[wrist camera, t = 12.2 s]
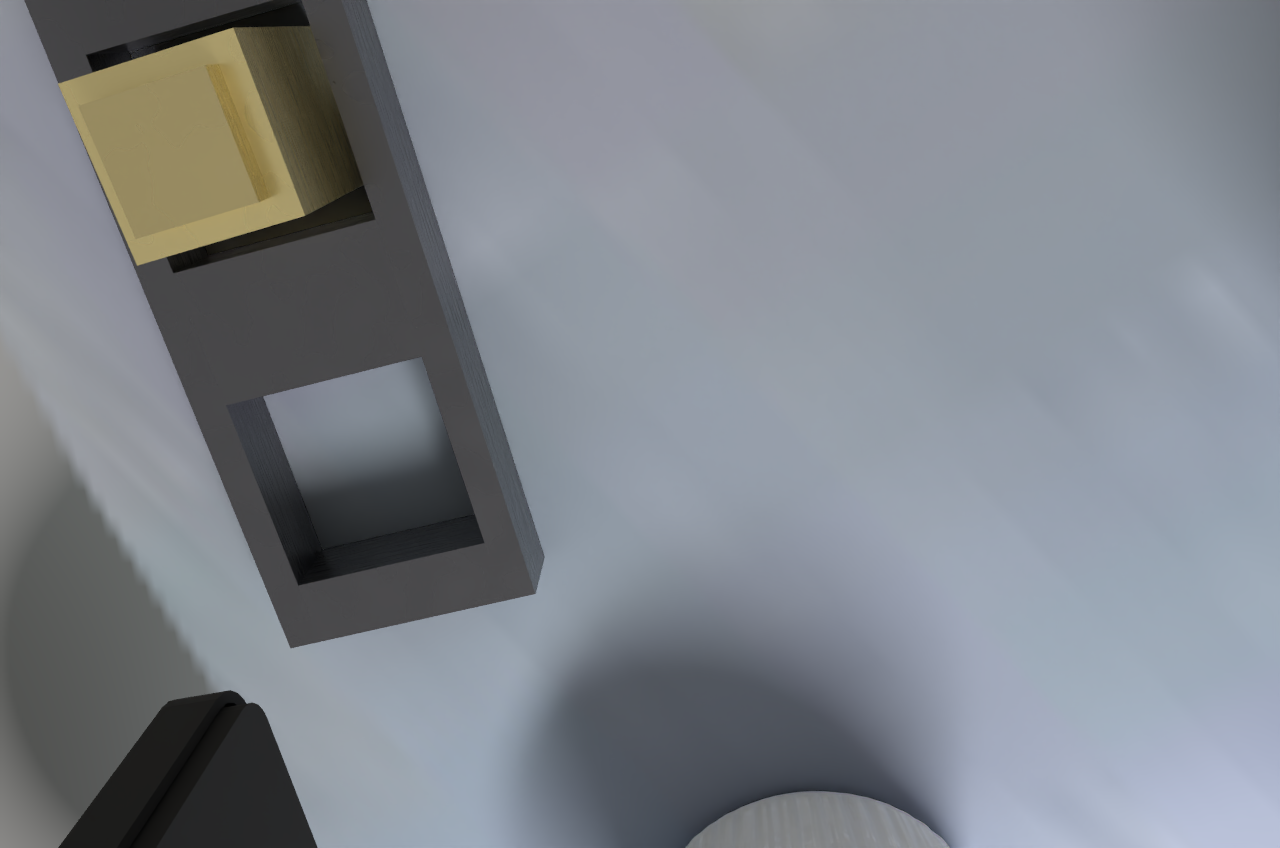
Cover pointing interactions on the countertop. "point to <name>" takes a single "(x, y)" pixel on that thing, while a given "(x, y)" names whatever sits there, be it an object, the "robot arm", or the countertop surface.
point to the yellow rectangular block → (214, 138)
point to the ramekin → (817, 824)
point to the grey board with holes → (325, 339)
